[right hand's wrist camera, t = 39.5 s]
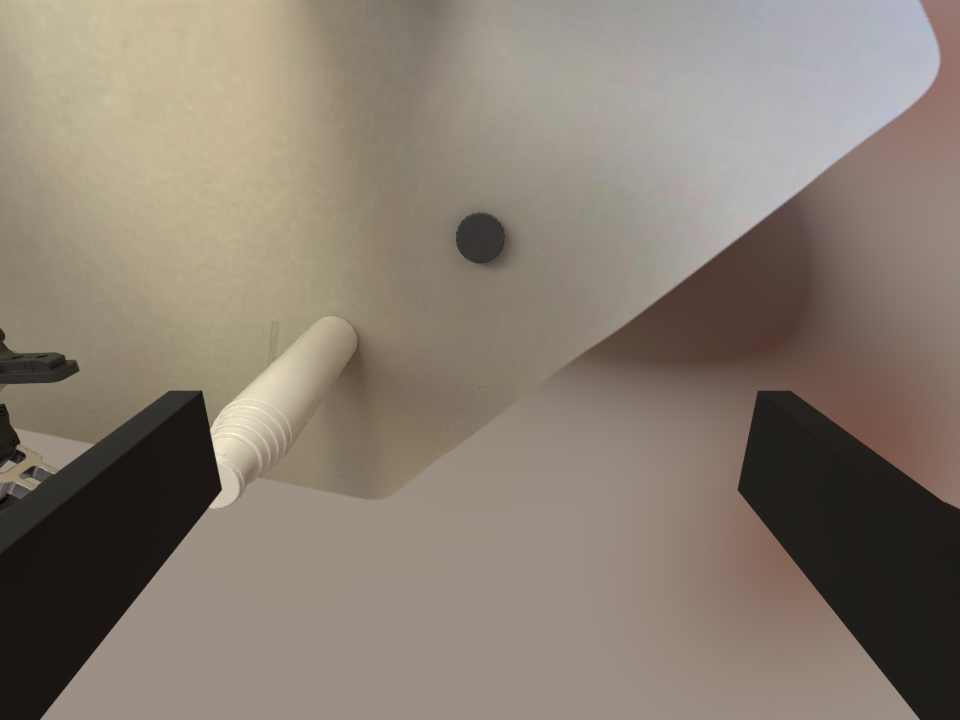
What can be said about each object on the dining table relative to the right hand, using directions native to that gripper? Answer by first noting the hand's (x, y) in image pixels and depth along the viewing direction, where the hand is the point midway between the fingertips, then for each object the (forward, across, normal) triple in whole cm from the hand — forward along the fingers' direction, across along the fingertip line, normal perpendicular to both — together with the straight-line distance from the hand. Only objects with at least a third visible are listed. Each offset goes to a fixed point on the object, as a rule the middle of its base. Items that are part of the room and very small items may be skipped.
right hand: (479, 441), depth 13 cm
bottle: (+39, +15, +10) cm, 43 cm away
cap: (+38, 0, 0) cm, 38 cm away
